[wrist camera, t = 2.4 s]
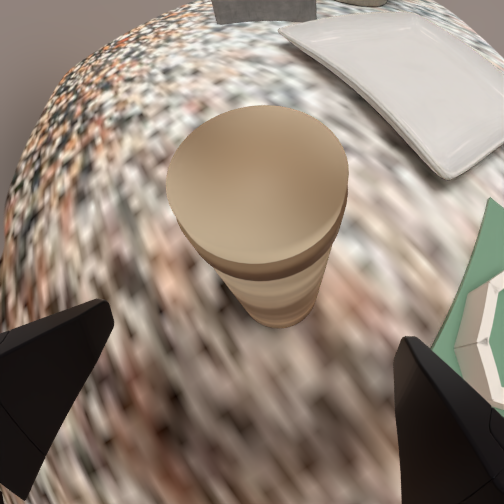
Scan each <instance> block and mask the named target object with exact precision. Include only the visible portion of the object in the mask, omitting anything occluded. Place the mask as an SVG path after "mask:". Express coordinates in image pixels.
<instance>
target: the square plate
mask: <svg viewBox="0 0 504 504" xmlns="http://www.w3.org/2000/svg"><path fill="white" fill-rule="evenodd" d="M278 32H279V34H281V35H282V36H284V37H285V38H286V39H287V40H288V41H290V42H291V43H292V44H294V45H295V46H296V47H298V48H299V49H300V50H302V51H303V52H305V53H306V54H308V55H309V56H311V57H312V58H314V59H315V60H316V61H318V62H319V63H321V64H322V65H324V66H325V67H326V68H328V69H329V70H330V71H332V72H333V73H334V74H336V75H337V76H338V77H339V78H341V79H342V80H343V81H344V82H345V83H347V84H348V85H349V86H350V87H351V88H353V89H354V90H355V91H356V92H357V93H358V94H359V95H361V96H362V97H363V98H364V99H365V100H366V101H367V102H368V103H369V104H370V105H371V106H372V107H373V108H374V109H375V110H376V111H377V112H378V113H379V114H380V115H381V116H382V117H383V118H384V119H385V120H386V121H387V122H388V123H389V124H390V125H391V126H392V127H393V128H394V129H395V131H396V132H397V133H398V134H399V135H400V136H401V137H402V138H403V139H404V140H405V141H406V143H407V144H408V145H409V146H410V147H411V148H412V149H413V150H414V151H415V152H416V153H417V154H418V155H419V157H420V158H421V159H422V160H423V161H424V162H425V163H426V164H427V165H428V166H429V167H430V168H431V169H432V170H433V171H434V172H435V173H436V174H437V175H439V176H440V177H441V178H443V179H445V180H451V179H453V178H455V177H457V176H459V175H461V174H462V173H464V172H465V171H467V170H469V169H470V168H471V167H473V166H474V165H476V164H477V163H478V162H480V161H481V160H482V159H484V158H485V157H486V156H487V155H489V154H490V153H491V152H493V151H494V150H495V149H497V148H498V147H499V146H501V145H502V144H504V74H503V73H502V72H501V71H500V70H499V69H498V68H496V67H495V66H494V65H493V64H492V63H491V62H489V61H488V60H487V59H486V58H484V57H483V56H482V55H481V54H479V53H478V52H477V51H475V50H474V49H473V48H471V47H470V46H469V45H467V44H466V43H464V42H463V41H461V40H460V39H459V38H457V37H456V36H454V35H452V34H451V33H449V32H448V31H446V30H444V29H443V28H441V27H439V26H438V25H436V24H434V23H432V22H431V21H429V20H427V19H425V18H424V17H422V16H420V15H418V14H416V13H413V12H371V13H357V14H348V15H341V16H334V17H327V18H322V19H317V20H312V21H307V22H303V23H298V24H294V25H290V26H286V27H283V28H279V29H278Z"/></svg>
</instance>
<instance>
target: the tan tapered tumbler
mask: <svg viewBox="0 0 504 504" xmlns="http://www.w3.org/2000/svg"><path fill="white" fill-rule="evenodd" d="M348 176H349V171H348V162H347V157H346V154H345V151H344V149H343V147H342V145H341V143H340V142H339V140H338V138H337V137H336V136H335V135H334V134H333V132H332V131H331V130H330V129H329V128H327V127H326V126H325V125H324V124H323V123H321V122H320V121H318V120H317V119H315V118H313V117H312V116H310V115H308V114H305V113H303V112H300V111H297V110H294V109H291V108H286V107H281V106H270V105H260V106H249V107H243V108H239V109H235V110H231V111H228V112H225V113H223V114H220V115H218V116H216V117H214V118H212V119H210V120H208V121H207V122H205V123H203V124H202V125H201V126H199V127H198V128H197V129H195V130H194V131H193V132H192V133H191V134H190V135H189V136H188V137H187V138H186V139H185V140H184V141H183V142H182V143H181V145H180V146H179V148H178V149H177V150H176V152H175V154H174V156H173V158H172V160H171V162H170V165H169V168H168V172H167V177H166V192H167V198H168V201H169V205H170V207H171V209H172V211H173V213H174V215H175V216H176V218H177V222H178V224H179V226H180V228H181V230H182V232H183V233H184V235H185V236H186V237H187V239H188V240H189V242H190V243H191V244H192V245H193V247H194V248H195V249H196V251H197V252H198V253H199V255H200V256H201V257H202V258H203V259H204V260H205V261H206V262H207V263H208V264H210V265H211V266H212V267H213V268H214V269H215V270H216V272H217V273H218V274H219V276H220V277H221V278H222V280H223V281H224V282H225V284H226V285H227V286H228V288H229V289H230V290H231V291H232V293H233V294H234V295H235V297H236V298H237V299H238V301H239V302H240V303H241V304H242V306H243V307H244V308H245V309H246V311H247V312H248V313H249V315H250V316H251V317H252V318H253V319H254V320H256V321H257V322H258V323H260V324H262V325H264V326H267V327H271V328H287V327H290V326H293V325H295V324H297V323H299V322H301V321H302V320H303V319H304V318H305V317H306V316H307V315H308V314H309V313H310V312H311V310H312V308H313V306H314V304H315V301H316V298H317V295H318V291H319V288H320V285H321V282H322V278H323V275H324V272H325V268H326V265H327V261H328V258H329V254H330V251H331V247H332V244H333V242H334V240H335V238H336V236H337V234H338V232H339V229H340V225H341V222H342V218H343V215H344V211H345V207H346V203H347V196H348Z"/></svg>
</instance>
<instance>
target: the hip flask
mask: <svg viewBox="0 0 504 504" xmlns="http://www.w3.org/2000/svg"><path fill="white" fill-rule="evenodd" d="M211 1H212V5H213V9H214V13H215V17H216V21H217V24H220V25H225V24H231V23H239V22H250V21H291V22H301V23H303V22H307V21H312V20H317V18H316V0H211Z"/></svg>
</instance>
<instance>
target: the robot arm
mask: <svg viewBox="0 0 504 504" xmlns="http://www.w3.org/2000/svg"><path fill="white" fill-rule="evenodd" d="M113 327H114V319H113V315H112V312H111V308H110V305H109V303H108V301H106V300H103V299H94V300H91V301H88V302H86V303H83V304H80V305H77V306H75V307H72V308H69V309H66V310H64V311H61V312H58V313H55V314H53V315H50V316H47V317H44V318H42V319H39V320H36V321H33V322H31V323H28V324H25V325H23V326H20V327H17V328H14V329H12V330H10V331H6V332H4V333H1V334H0V483H1V484H2V485H4V486H5V487H6V488H7V489H9V490H10V491H11V492H13V493H14V494H15V495H17V496H18V497H20V498H21V499H22V500H24V501H25V500H26V499H27V497H28V495H29V492H30V490H31V488H32V485H33V483H34V481H35V479H36V477H37V474H38V472H39V470H40V468H41V466H42V464H43V462H44V459H45V456H46V455H47V453H48V451H49V449H50V447H51V445H52V443H53V441H54V439H55V437H56V435H57V433H58V431H59V429H60V427H61V425H62V423H63V421H64V420H65V418H66V416H67V414H68V412H69V410H70V408H71V407H72V405H73V403H74V401H75V399H76V398H77V396H78V394H79V392H80V391H81V389H82V387H83V385H84V384H85V382H86V380H87V378H88V377H89V375H90V373H91V372H92V370H93V368H94V366H95V365H96V363H97V361H98V359H99V357H100V355H101V352H102V350H103V348H104V346H105V344H106V342H107V340H108V338H109V336H110V334H111V332H112V330H113ZM393 371H394V399H395V417H396V426H397V435H398V445H399V457H400V471H401V495H402V504H504V417H503V416H502V415H501V414H500V413H499V412H498V411H497V410H496V409H495V408H494V407H492V406H491V405H490V404H489V403H488V402H487V401H486V400H485V399H484V398H483V397H482V396H481V395H480V394H479V393H478V392H477V391H476V390H475V389H474V388H473V387H472V386H470V385H469V384H468V383H467V382H466V381H465V380H464V379H463V378H462V377H461V376H460V375H459V374H458V373H456V372H455V371H454V370H453V369H452V368H451V367H450V366H449V365H448V364H447V363H445V362H444V361H443V360H442V359H441V358H440V357H439V356H438V355H437V354H435V353H434V352H433V351H432V350H431V349H430V348H429V347H428V346H426V345H425V344H424V343H423V342H422V341H421V340H420V339H419V338H417V337H415V336H405V337H403V338H402V339H401V341H400V344H399V347H398V350H397V352H396V355H395V358H394V362H393ZM491 407H492V408H491ZM0 504H4V502H3V496H2V492H1V491H0Z"/></svg>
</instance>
